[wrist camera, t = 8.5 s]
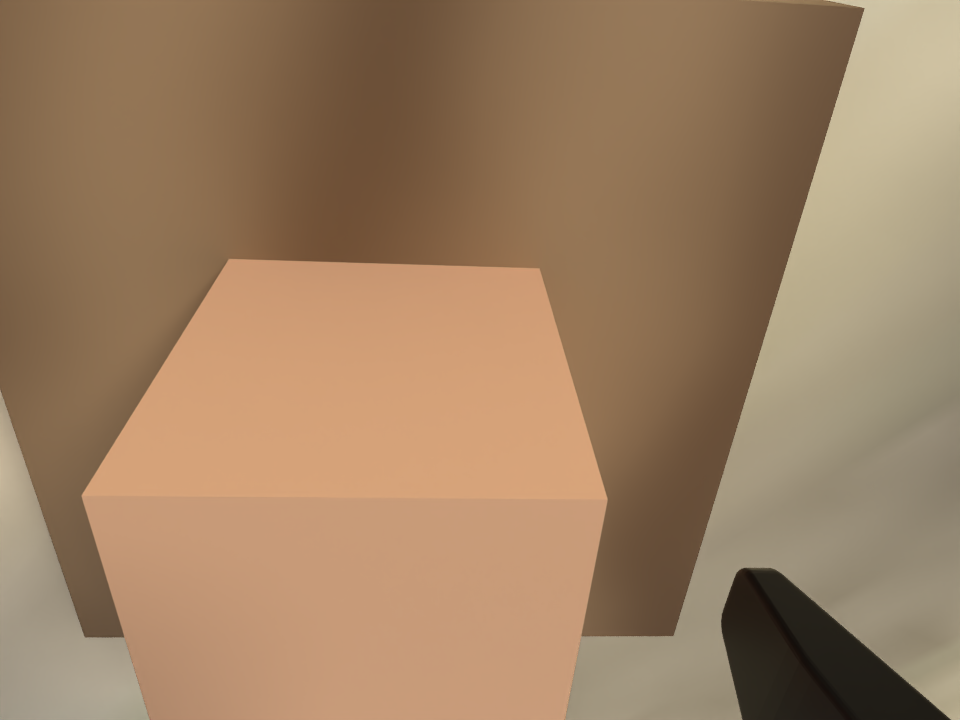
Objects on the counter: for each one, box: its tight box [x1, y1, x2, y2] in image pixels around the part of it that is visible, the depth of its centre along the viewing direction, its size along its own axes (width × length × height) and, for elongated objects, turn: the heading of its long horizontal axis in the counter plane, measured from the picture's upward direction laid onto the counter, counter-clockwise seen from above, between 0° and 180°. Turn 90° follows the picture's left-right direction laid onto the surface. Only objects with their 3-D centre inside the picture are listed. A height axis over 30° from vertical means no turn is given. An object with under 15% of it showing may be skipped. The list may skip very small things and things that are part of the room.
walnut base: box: [0, 0, 864, 637], centre depth 13 cm, size 12×12×2 cm
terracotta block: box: [81, 259, 608, 720], centre depth 9 cm, size 4×4×5 cm
